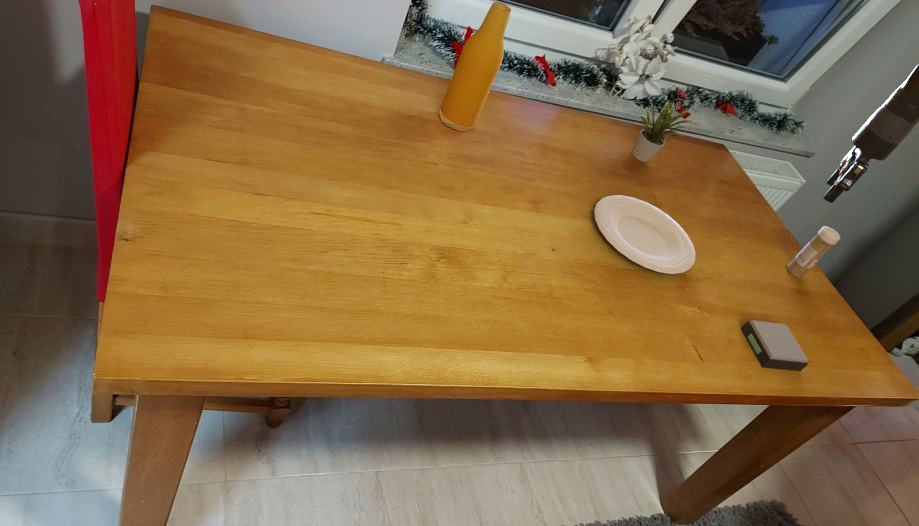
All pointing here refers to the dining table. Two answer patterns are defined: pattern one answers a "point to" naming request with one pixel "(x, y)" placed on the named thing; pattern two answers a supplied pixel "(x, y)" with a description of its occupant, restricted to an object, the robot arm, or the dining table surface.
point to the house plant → (656, 132)
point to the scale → (774, 345)
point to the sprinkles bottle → (813, 251)
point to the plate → (644, 234)
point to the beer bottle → (477, 69)
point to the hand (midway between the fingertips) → (828, 192)
